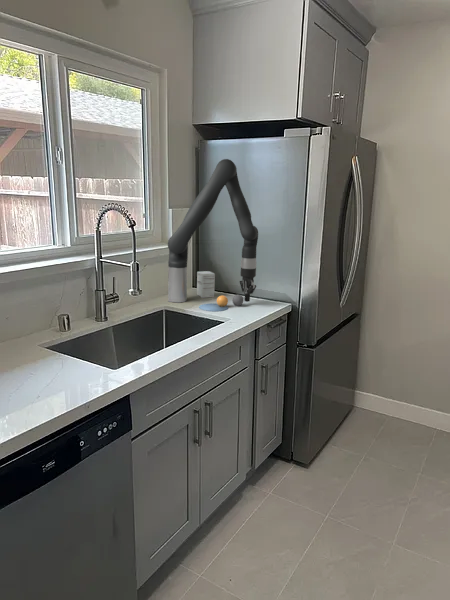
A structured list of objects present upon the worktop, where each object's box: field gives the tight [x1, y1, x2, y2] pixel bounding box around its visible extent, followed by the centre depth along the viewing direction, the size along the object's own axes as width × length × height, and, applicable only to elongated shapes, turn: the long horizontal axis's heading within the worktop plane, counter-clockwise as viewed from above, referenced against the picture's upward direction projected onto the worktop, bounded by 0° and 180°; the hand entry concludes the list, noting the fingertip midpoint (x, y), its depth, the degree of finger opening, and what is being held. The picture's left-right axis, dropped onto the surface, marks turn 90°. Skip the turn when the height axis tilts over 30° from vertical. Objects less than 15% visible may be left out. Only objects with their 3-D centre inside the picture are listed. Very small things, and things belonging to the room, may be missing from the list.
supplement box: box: [196, 270, 216, 299], centre depth 242 cm, size 7×7×13 cm
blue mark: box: [198, 303, 229, 312], centre depth 221 cm, size 14×14×1 cm
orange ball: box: [216, 295, 229, 307], centre depth 223 cm, size 6×6×6 cm
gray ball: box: [231, 294, 244, 307], centre depth 225 cm, size 6×6×6 cm
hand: (246, 301), depth 229 cm, fingers closed
